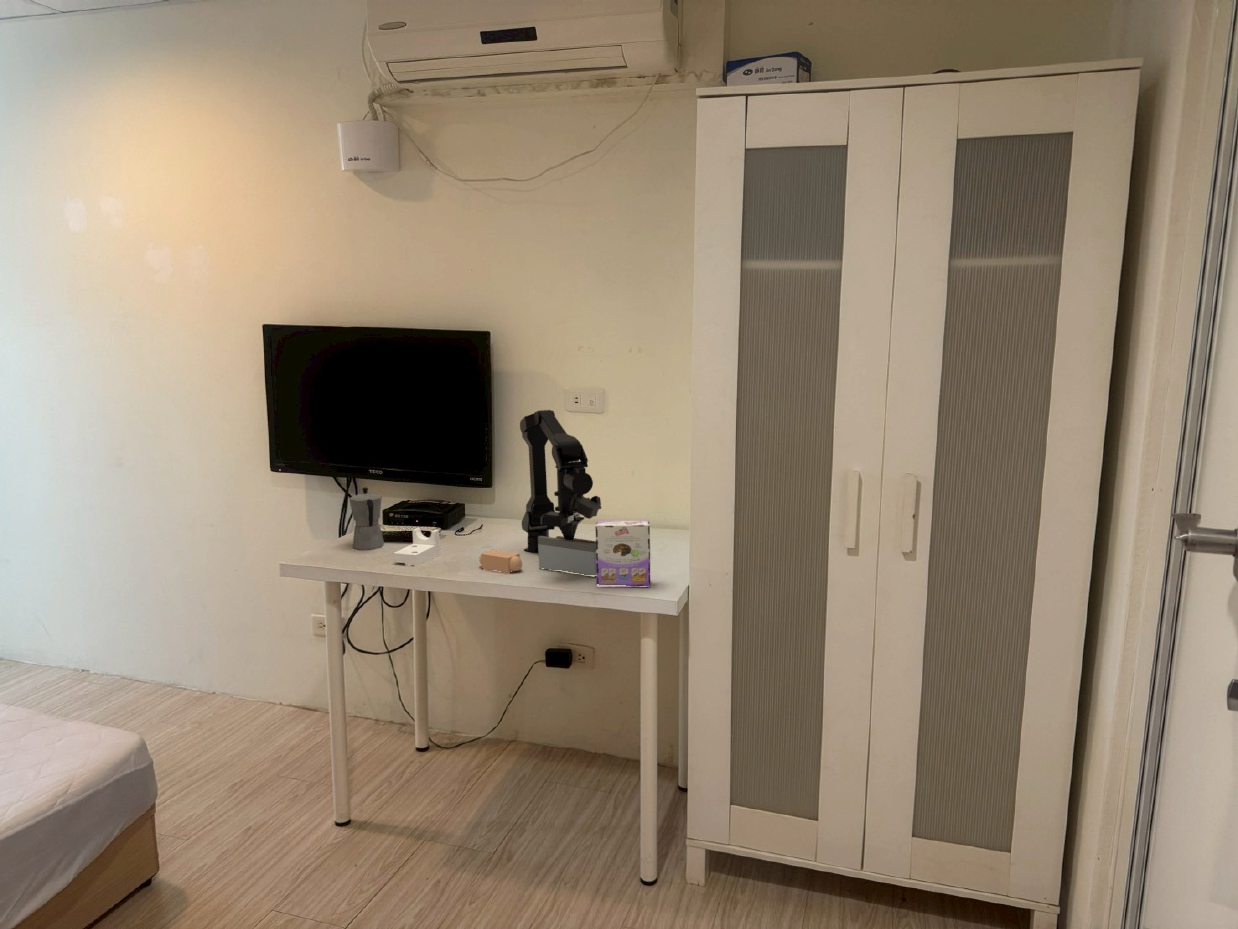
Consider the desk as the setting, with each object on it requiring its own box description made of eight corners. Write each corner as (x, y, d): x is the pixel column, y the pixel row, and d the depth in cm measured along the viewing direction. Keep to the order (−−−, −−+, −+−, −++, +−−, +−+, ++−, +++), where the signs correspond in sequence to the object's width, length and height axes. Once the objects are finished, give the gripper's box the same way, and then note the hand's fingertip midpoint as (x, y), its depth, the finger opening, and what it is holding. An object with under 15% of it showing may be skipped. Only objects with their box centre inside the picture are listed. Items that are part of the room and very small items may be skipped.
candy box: (650, 581, 228) (650, 519, 225) (650, 588, 222) (650, 524, 219) (597, 581, 228) (596, 519, 226) (595, 588, 223) (595, 524, 220)
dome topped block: (487, 563, 245) (486, 548, 244) (526, 570, 238) (526, 554, 237) (475, 568, 240) (474, 552, 239) (515, 575, 234) (514, 559, 233)
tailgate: (541, 567, 240) (540, 535, 238) (597, 576, 232) (596, 543, 230) (539, 568, 239) (537, 536, 237) (594, 577, 230) (593, 544, 229)
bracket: (418, 553, 257) (417, 528, 256) (440, 555, 255) (438, 529, 254) (394, 565, 245) (392, 539, 243) (416, 567, 243) (415, 540, 241)
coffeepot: (348, 543, 268) (345, 485, 265) (380, 539, 272) (377, 482, 269) (357, 555, 254) (353, 494, 251) (390, 551, 258) (386, 491, 255)
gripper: (575, 497, 220) (577, 557, 223) (612, 483, 236) (613, 539, 239) (538, 493, 226) (540, 552, 228) (576, 480, 242) (578, 535, 244)
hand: (570, 544), depth 235 cm, fingers closed
